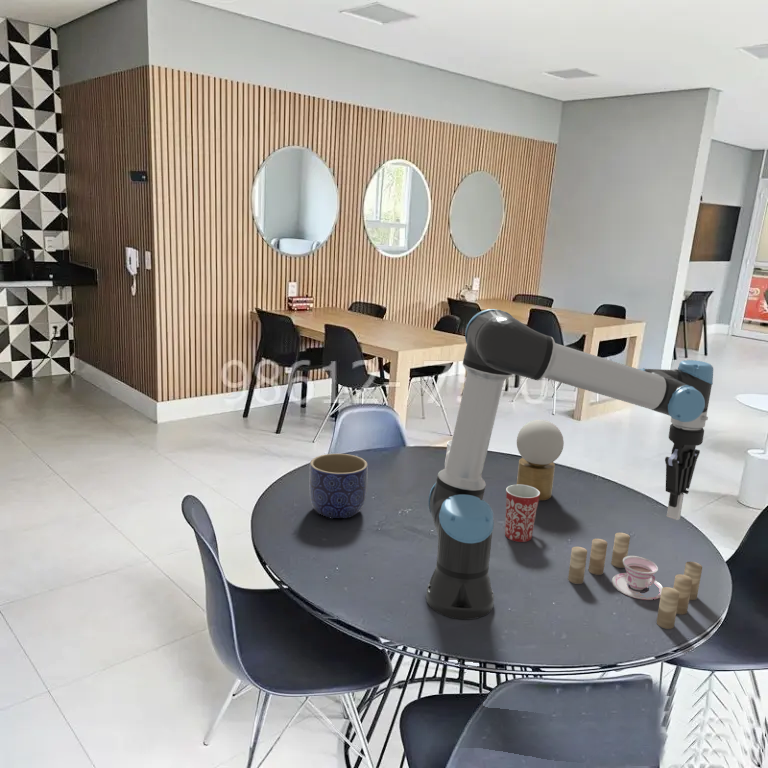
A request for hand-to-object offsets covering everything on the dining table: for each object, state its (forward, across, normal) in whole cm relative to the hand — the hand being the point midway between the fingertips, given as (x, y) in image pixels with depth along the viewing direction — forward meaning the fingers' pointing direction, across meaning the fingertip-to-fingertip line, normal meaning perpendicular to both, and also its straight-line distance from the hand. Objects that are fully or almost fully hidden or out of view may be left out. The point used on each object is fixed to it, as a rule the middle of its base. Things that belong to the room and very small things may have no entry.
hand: (673, 517), depth 170 cm
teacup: (+16, -11, +1) cm, 19 cm away
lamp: (+15, +13, +50) cm, 54 cm away
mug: (+15, -12, +35) cm, 40 cm away
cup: (+15, +6, +78) cm, 80 cm away
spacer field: (+15, -13, 0) cm, 20 cm away
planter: (+15, -45, +76) cm, 90 cm away
